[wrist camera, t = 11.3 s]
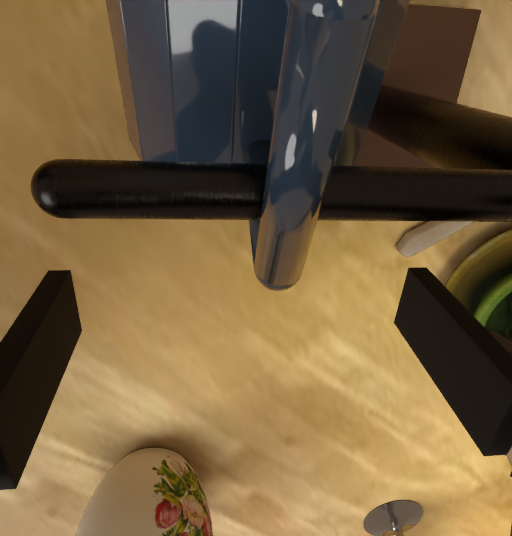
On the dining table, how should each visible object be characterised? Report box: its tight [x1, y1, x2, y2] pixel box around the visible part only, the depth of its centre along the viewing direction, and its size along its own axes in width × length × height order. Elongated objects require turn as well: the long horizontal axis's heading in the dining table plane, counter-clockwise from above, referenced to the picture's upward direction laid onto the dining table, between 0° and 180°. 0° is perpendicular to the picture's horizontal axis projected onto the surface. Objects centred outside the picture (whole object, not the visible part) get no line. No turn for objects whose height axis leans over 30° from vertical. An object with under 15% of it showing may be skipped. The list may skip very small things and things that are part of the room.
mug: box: [106, 0, 410, 291], centre depth 11 cm, size 13×9×10 cm
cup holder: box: [31, 4, 512, 222], centre depth 15 cm, size 10×18×22 cm, turn 87°
